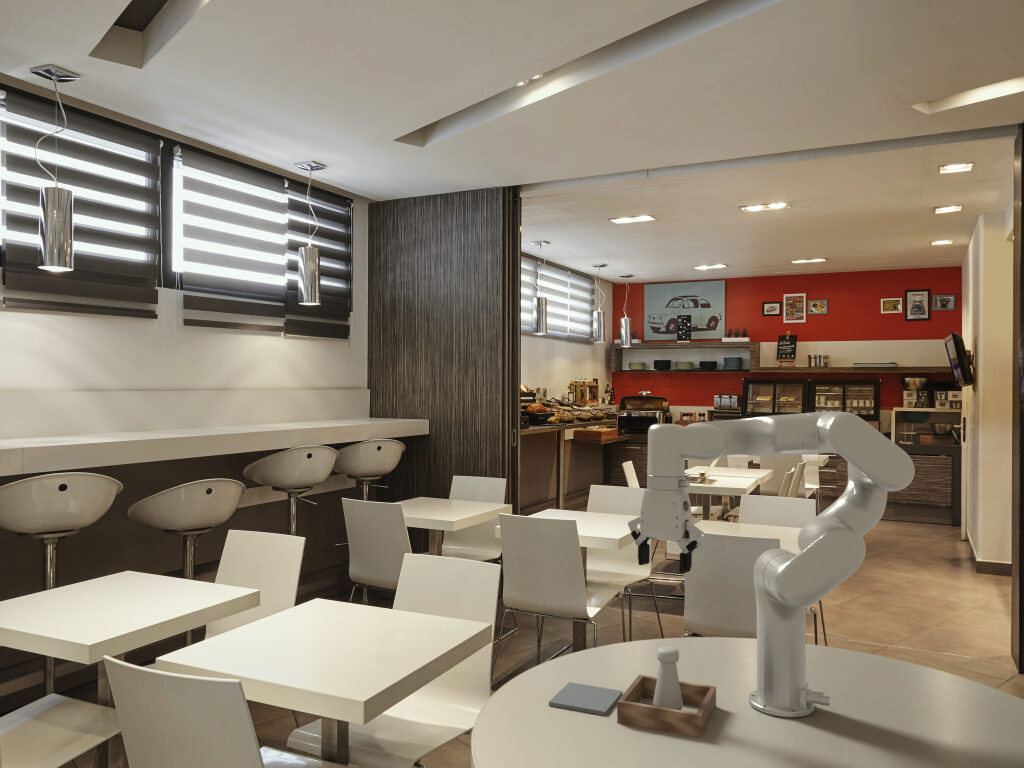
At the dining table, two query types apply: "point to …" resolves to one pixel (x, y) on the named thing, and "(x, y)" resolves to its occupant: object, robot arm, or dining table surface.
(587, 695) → the mat
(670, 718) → the bin
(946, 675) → the dining table surface
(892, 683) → the dining table surface
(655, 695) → the salt shaker
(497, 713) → the dining table surface
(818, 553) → the robot arm
